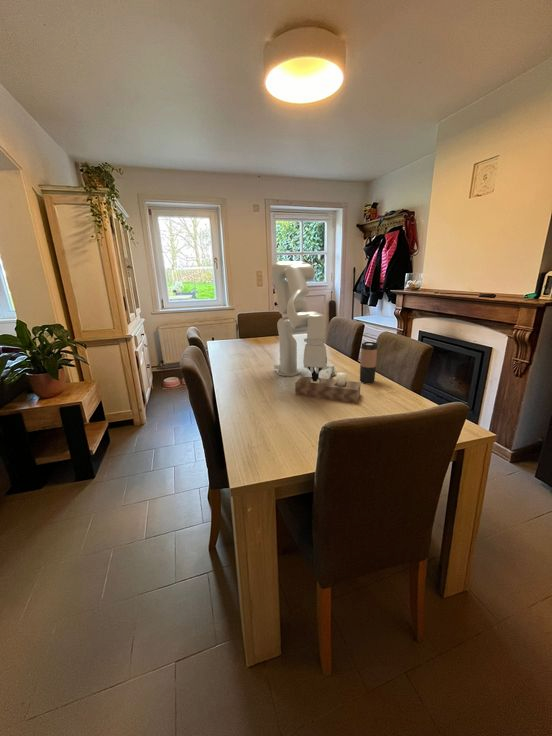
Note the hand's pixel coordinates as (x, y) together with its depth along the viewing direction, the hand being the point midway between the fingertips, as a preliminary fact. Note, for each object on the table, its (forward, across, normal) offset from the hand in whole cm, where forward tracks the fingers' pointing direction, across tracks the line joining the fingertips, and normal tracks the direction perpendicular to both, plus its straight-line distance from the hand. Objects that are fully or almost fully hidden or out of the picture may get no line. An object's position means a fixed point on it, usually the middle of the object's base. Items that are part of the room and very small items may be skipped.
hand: (315, 380), depth 142 cm
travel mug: (+7, +21, +24) cm, 33 cm away
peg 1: (+6, 0, 0) cm, 6 cm away
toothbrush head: (+7, +1, +19) cm, 20 cm away
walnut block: (+6, +6, 0) cm, 9 cm away
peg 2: (+1, +12, 0) cm, 12 cm away
